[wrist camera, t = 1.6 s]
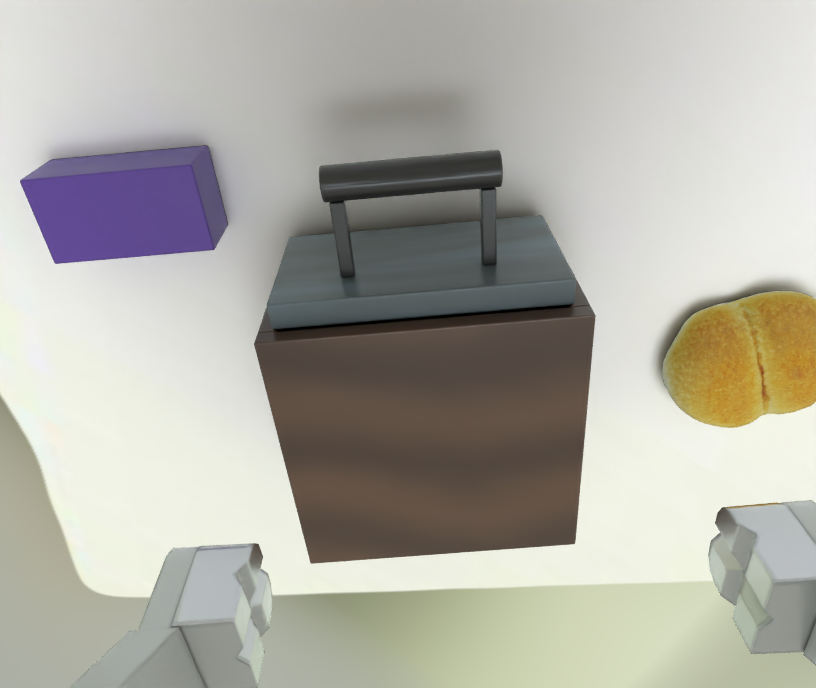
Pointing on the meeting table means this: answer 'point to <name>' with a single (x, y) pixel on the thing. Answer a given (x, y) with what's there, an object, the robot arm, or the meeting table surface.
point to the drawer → (418, 253)
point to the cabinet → (433, 430)
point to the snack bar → (127, 204)
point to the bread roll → (745, 359)
